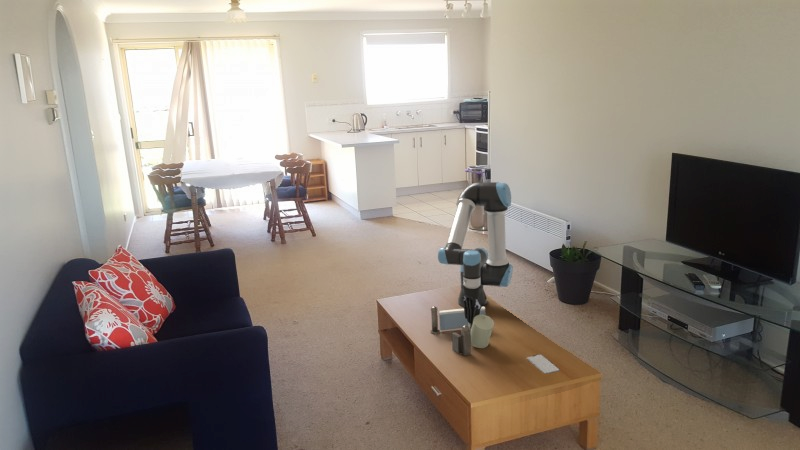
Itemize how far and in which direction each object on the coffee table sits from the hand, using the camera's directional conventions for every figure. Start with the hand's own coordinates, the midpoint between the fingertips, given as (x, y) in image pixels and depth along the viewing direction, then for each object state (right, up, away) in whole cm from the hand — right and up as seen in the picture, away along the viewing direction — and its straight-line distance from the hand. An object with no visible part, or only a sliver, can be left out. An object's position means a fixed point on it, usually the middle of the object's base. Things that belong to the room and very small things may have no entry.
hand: (471, 335), depth 260 cm
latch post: (-5, -5, -10) cm, 12 cm away
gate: (-2, +1, +13) cm, 13 cm away
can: (+3, -2, -3) cm, 5 cm away
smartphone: (+26, -8, -24) cm, 36 cm away
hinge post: (-16, -1, +12) cm, 20 cm away
